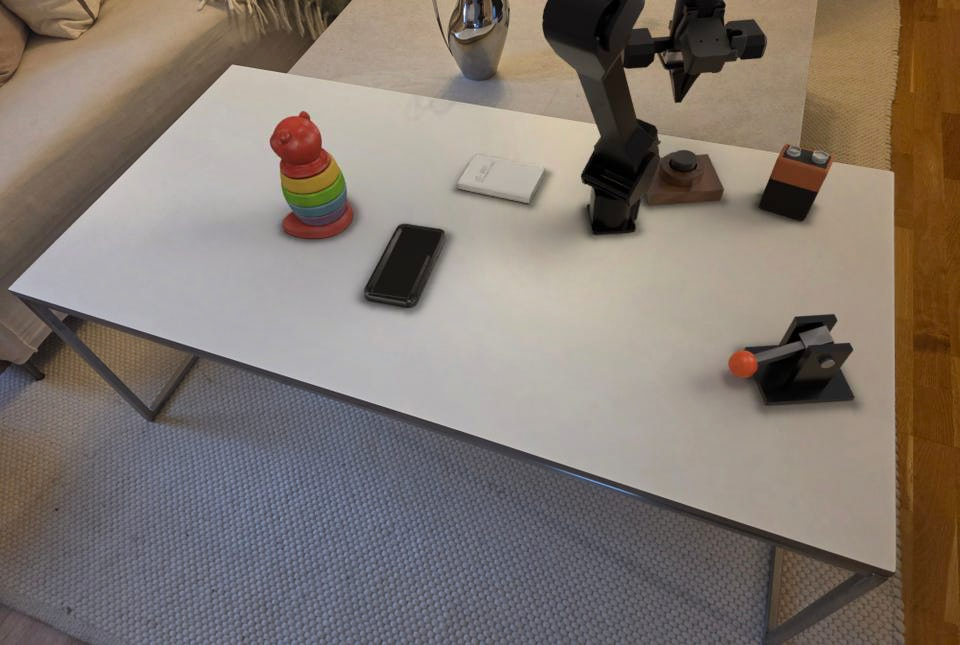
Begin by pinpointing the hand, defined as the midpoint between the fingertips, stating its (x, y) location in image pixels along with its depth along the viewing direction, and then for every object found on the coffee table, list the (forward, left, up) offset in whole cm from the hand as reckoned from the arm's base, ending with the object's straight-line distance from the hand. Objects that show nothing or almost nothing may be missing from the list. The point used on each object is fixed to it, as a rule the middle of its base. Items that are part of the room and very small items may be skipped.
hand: (677, 101), depth 86 cm
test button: (+2, -3, -9) cm, 10 cm away
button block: (+2, -3, -13) cm, 13 cm away
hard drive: (-26, +1, -13) cm, 29 cm away
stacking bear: (-55, -5, -13) cm, 57 cm away
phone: (-41, -17, -13) cm, 46 cm away
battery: (+16, -10, -13) cm, 23 cm away
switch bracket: (+7, -40, -13) cm, 43 cm away
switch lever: (+4, -40, -9) cm, 41 cm away
